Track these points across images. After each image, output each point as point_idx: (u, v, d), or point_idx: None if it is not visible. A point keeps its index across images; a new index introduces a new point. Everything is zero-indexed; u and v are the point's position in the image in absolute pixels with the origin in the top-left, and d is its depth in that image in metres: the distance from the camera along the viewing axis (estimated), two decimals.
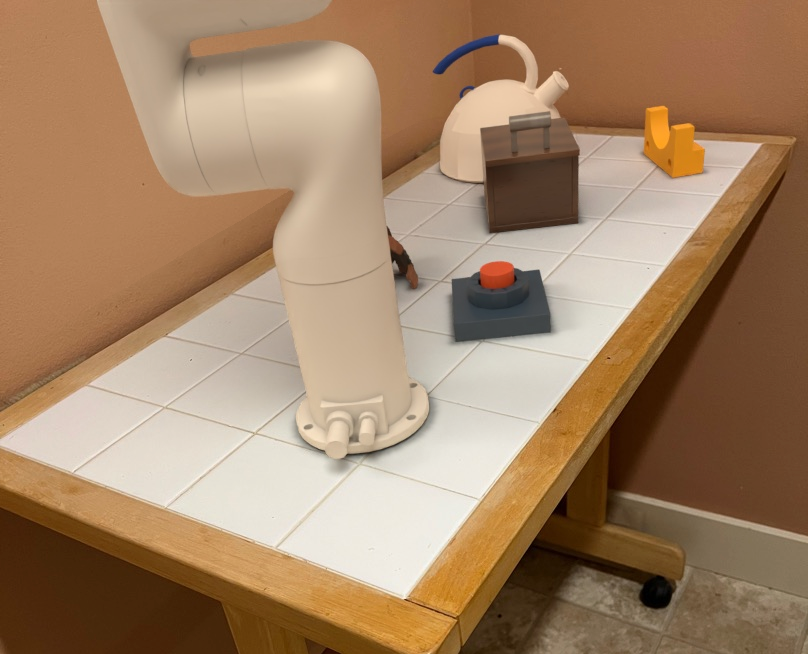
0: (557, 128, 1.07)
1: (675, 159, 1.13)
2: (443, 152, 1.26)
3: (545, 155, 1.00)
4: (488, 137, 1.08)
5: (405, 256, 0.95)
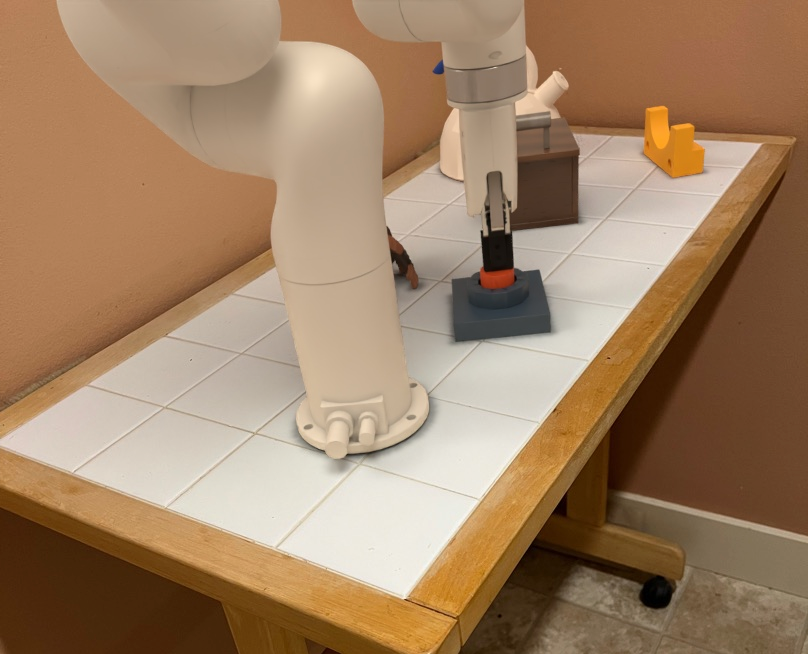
0: (557, 128, 1.07)
1: (675, 159, 1.13)
2: (443, 152, 1.26)
3: (545, 155, 1.00)
4: None
5: (405, 256, 0.95)
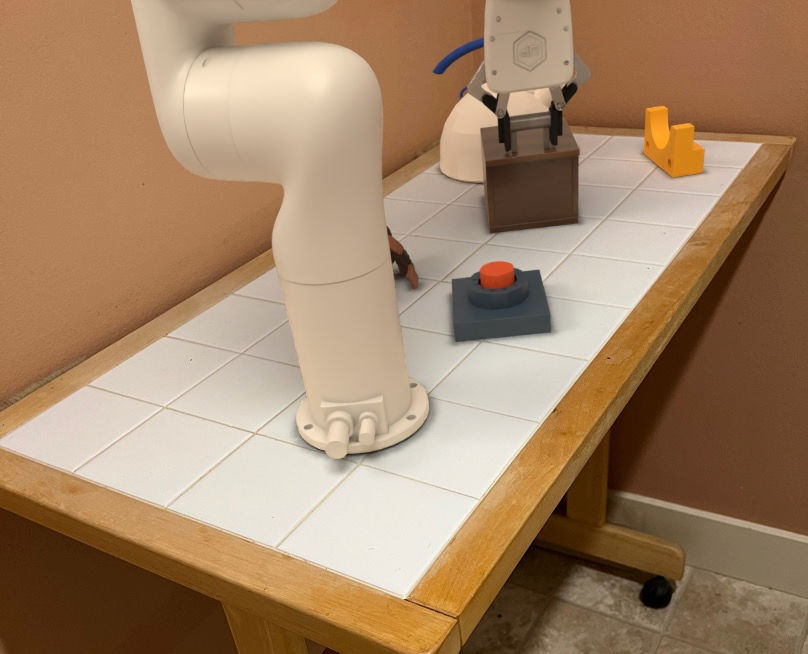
0: None
1: (675, 159, 1.13)
2: (443, 152, 1.26)
3: (545, 155, 1.00)
4: (488, 137, 1.08)
5: (405, 256, 0.95)
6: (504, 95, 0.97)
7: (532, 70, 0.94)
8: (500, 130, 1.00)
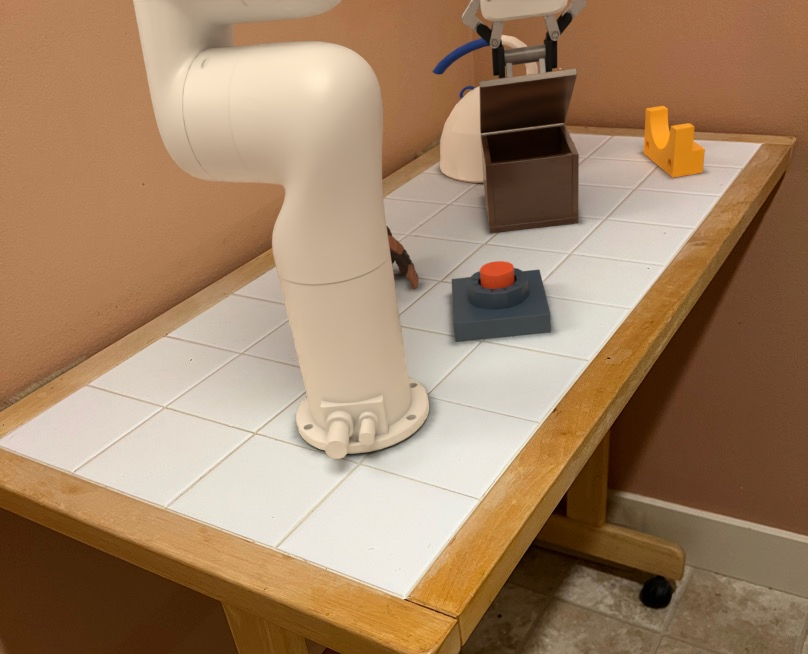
0: None
1: (675, 159, 1.13)
2: (443, 152, 1.26)
3: (541, 75, 0.97)
4: None
5: (405, 256, 0.95)
6: (498, 24, 0.96)
7: None
8: (494, 61, 0.99)
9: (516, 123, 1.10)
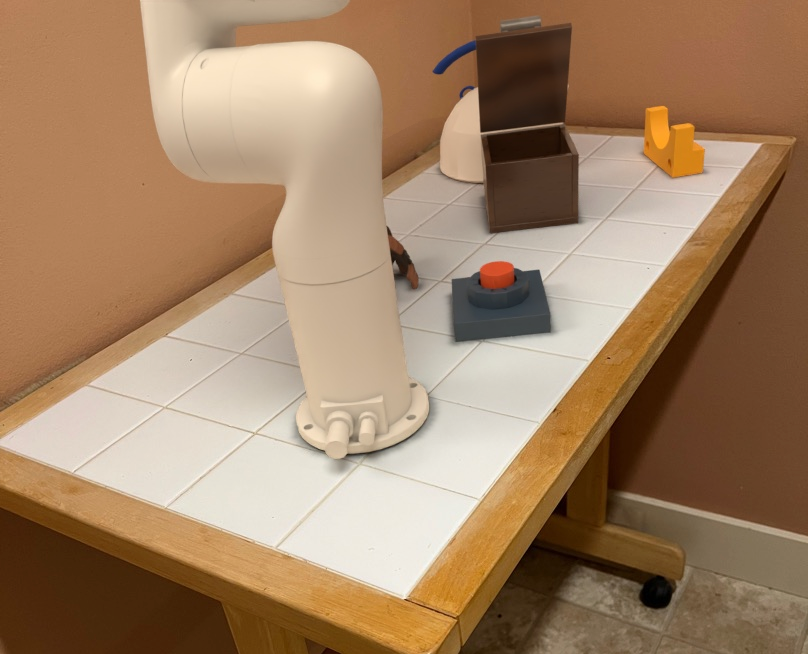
0: None
1: (675, 159, 1.13)
2: (443, 152, 1.26)
3: (536, 29, 0.98)
4: None
5: (405, 256, 0.95)
6: None
7: None
8: None
9: (515, 116, 1.10)
